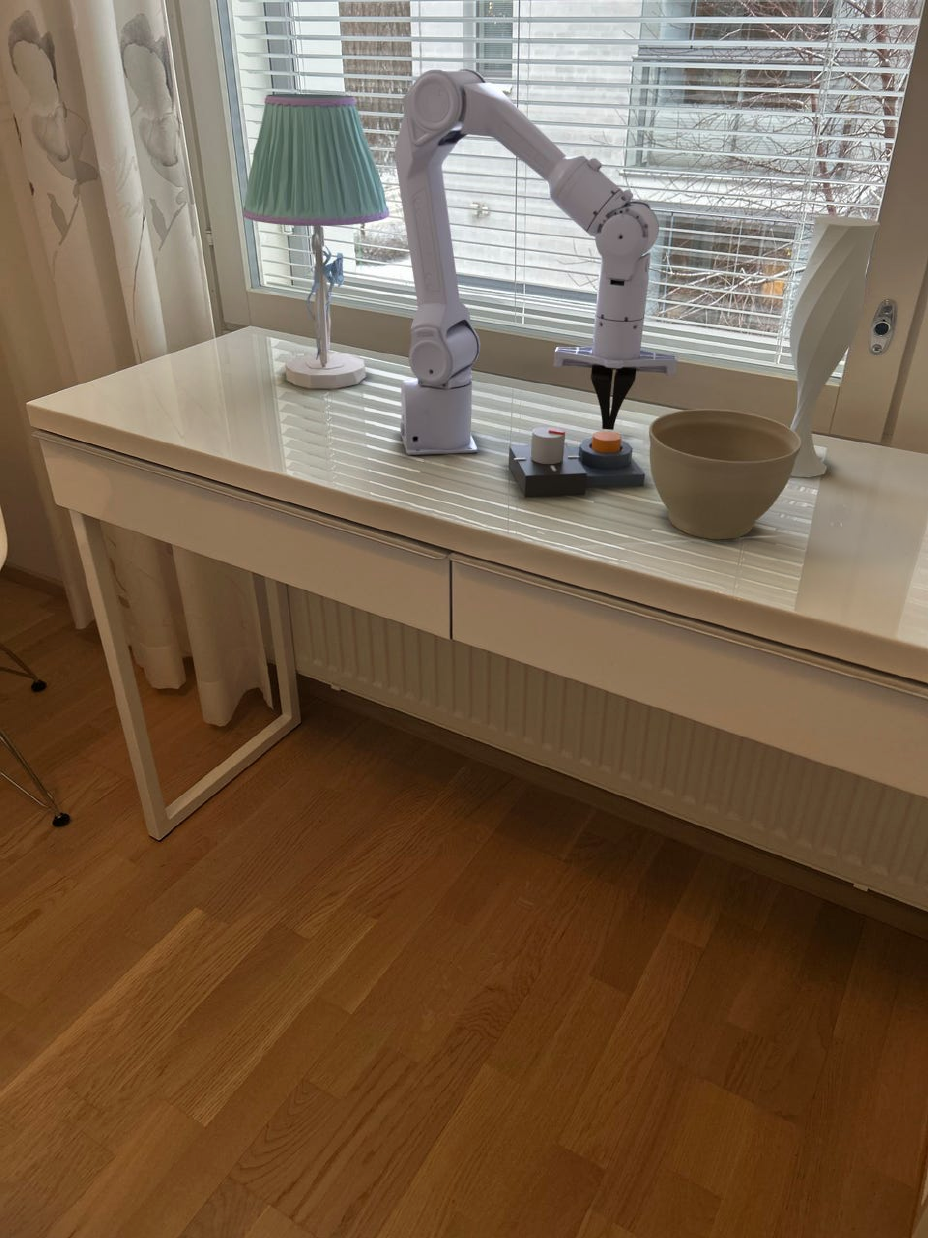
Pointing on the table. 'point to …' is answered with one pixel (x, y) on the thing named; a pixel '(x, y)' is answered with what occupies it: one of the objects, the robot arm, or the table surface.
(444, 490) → the table surface
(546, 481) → the dial panel
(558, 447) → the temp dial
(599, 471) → the button base
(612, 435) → the button
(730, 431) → the planter bowl
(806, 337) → the vase
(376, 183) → the table lamp
